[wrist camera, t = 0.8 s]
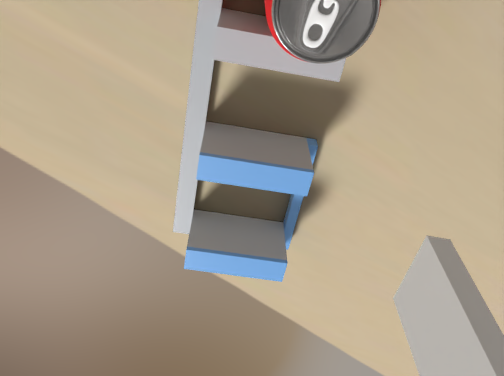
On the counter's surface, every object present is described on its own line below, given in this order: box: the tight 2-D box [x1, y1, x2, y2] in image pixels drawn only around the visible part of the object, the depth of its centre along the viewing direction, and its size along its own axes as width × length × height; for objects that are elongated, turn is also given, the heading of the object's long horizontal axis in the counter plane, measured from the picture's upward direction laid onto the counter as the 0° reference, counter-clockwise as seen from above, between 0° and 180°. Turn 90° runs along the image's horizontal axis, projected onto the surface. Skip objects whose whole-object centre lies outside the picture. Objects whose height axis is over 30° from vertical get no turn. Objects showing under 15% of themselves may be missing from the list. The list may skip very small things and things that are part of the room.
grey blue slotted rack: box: [173, 0, 346, 282], centre depth 32 cm, size 28×10×5 cm, turn 170°
